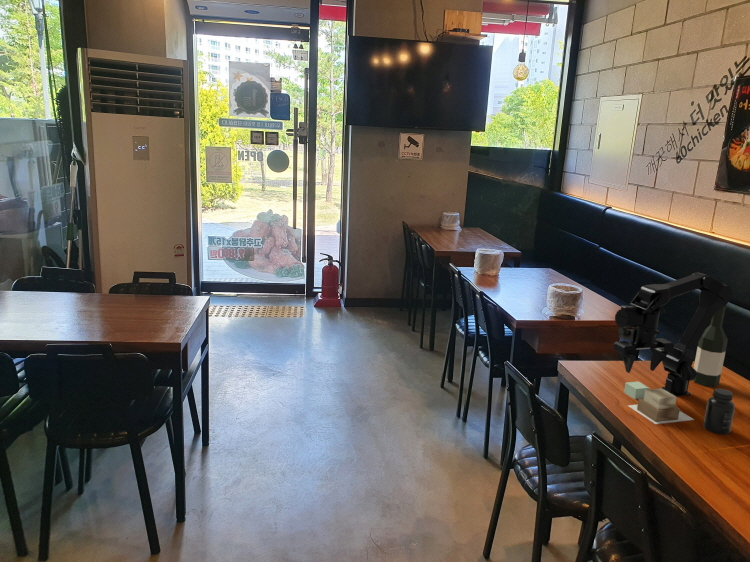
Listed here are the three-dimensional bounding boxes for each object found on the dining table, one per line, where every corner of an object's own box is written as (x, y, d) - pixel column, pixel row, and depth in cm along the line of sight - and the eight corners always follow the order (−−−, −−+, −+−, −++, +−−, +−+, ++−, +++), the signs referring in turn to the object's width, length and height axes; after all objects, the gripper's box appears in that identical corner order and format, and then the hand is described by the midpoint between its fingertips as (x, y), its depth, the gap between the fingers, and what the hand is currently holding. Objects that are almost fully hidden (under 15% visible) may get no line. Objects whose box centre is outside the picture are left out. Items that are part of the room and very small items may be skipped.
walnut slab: (658, 407, 175) (660, 397, 174) (677, 419, 167) (680, 408, 166) (636, 409, 173) (638, 399, 172) (655, 422, 165) (657, 411, 164)
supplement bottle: (726, 426, 165) (734, 389, 162) (732, 437, 158) (740, 398, 156) (700, 422, 167) (707, 385, 164) (705, 432, 161) (713, 394, 158)
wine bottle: (719, 381, 198) (735, 299, 190) (718, 389, 191) (735, 304, 183) (692, 375, 202) (707, 295, 195) (690, 383, 195) (706, 300, 188)
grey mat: (664, 402, 179) (664, 401, 179) (694, 420, 168) (694, 419, 168) (627, 406, 175) (627, 405, 175) (655, 424, 164) (655, 424, 164)
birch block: (659, 398, 173) (661, 388, 172) (674, 407, 167) (676, 396, 166) (643, 400, 171) (645, 389, 170) (657, 409, 166) (659, 398, 165)
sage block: (636, 392, 186) (638, 381, 185) (647, 399, 181) (649, 387, 180) (623, 393, 185) (625, 382, 184) (634, 400, 180) (636, 389, 179)
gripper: (653, 316, 187) (646, 360, 191) (605, 319, 182) (599, 364, 186) (678, 327, 177) (670, 373, 180) (628, 330, 172) (621, 377, 176)
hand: (639, 371), depth 181 cm, fingers open, 9 cm apart
